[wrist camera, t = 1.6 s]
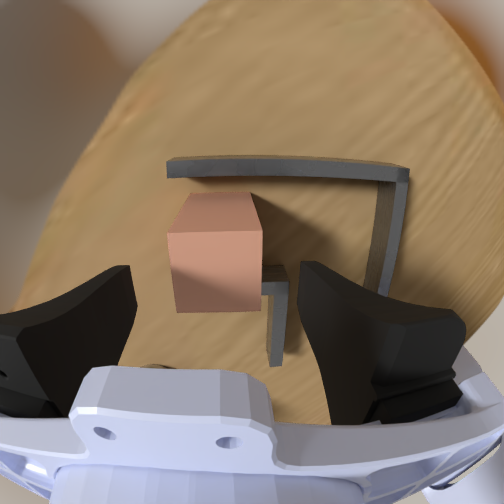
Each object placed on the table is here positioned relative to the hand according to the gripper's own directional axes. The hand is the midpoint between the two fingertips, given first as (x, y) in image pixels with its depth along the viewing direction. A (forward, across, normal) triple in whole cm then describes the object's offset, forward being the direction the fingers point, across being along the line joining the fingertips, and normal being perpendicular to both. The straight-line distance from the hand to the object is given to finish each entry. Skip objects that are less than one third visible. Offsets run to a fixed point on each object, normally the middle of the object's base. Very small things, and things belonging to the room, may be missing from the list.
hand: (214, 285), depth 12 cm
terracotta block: (+9, 0, 0) cm, 9 cm away
